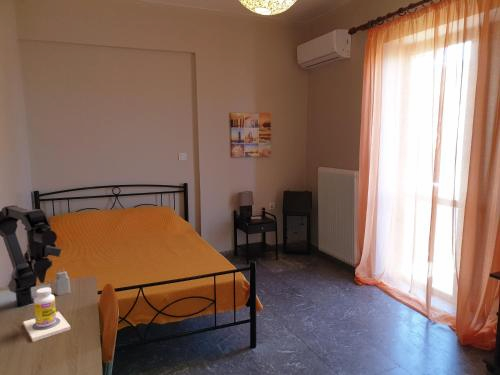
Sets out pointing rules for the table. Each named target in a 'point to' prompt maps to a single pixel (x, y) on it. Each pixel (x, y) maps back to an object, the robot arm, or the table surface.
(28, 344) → the table surface
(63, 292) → the power adapter
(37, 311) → the supplement bottle
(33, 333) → the base
